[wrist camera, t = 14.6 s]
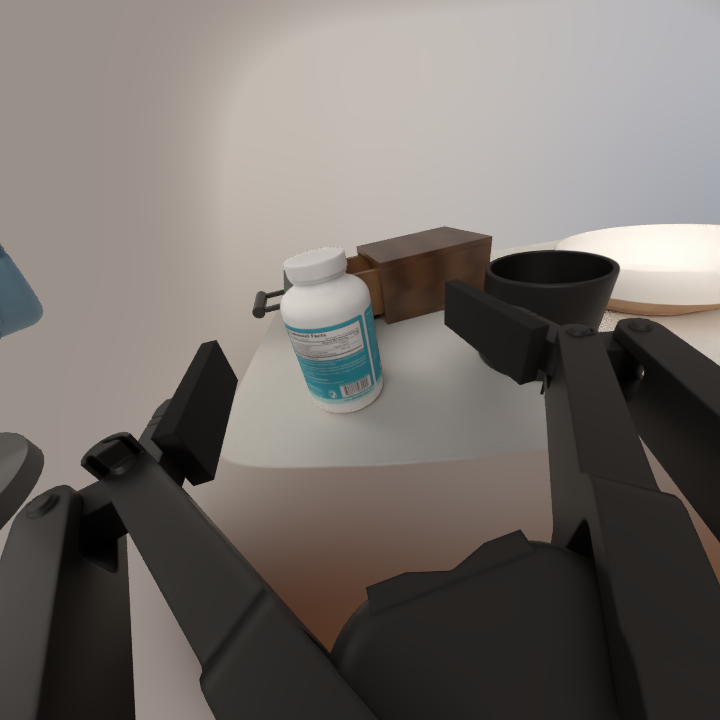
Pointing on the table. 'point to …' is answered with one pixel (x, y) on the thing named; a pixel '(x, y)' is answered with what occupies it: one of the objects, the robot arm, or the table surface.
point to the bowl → (658, 266)
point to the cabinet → (426, 268)
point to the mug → (554, 286)
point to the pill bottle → (332, 330)
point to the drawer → (354, 267)
